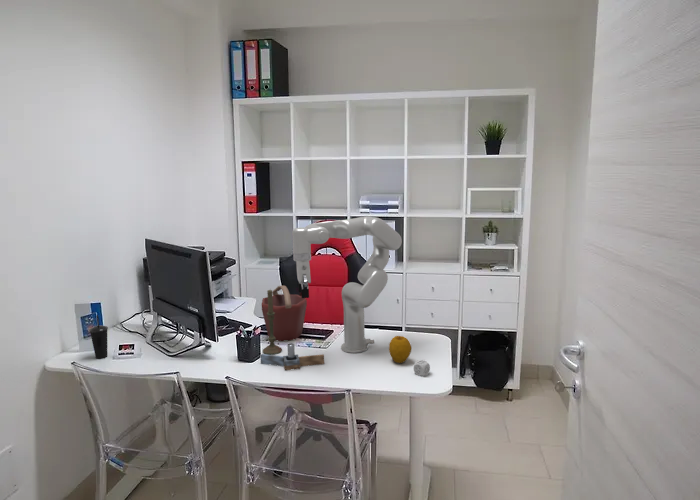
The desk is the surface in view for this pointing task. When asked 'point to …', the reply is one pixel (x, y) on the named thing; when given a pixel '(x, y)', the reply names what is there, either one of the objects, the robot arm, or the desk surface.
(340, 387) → the desk surface
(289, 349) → the pin
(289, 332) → the bucket
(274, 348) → the candlestick holder
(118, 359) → the desk surface
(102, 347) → the drinking cup
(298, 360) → the hammer
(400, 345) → the apple
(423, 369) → the die
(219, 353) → the desk surface
